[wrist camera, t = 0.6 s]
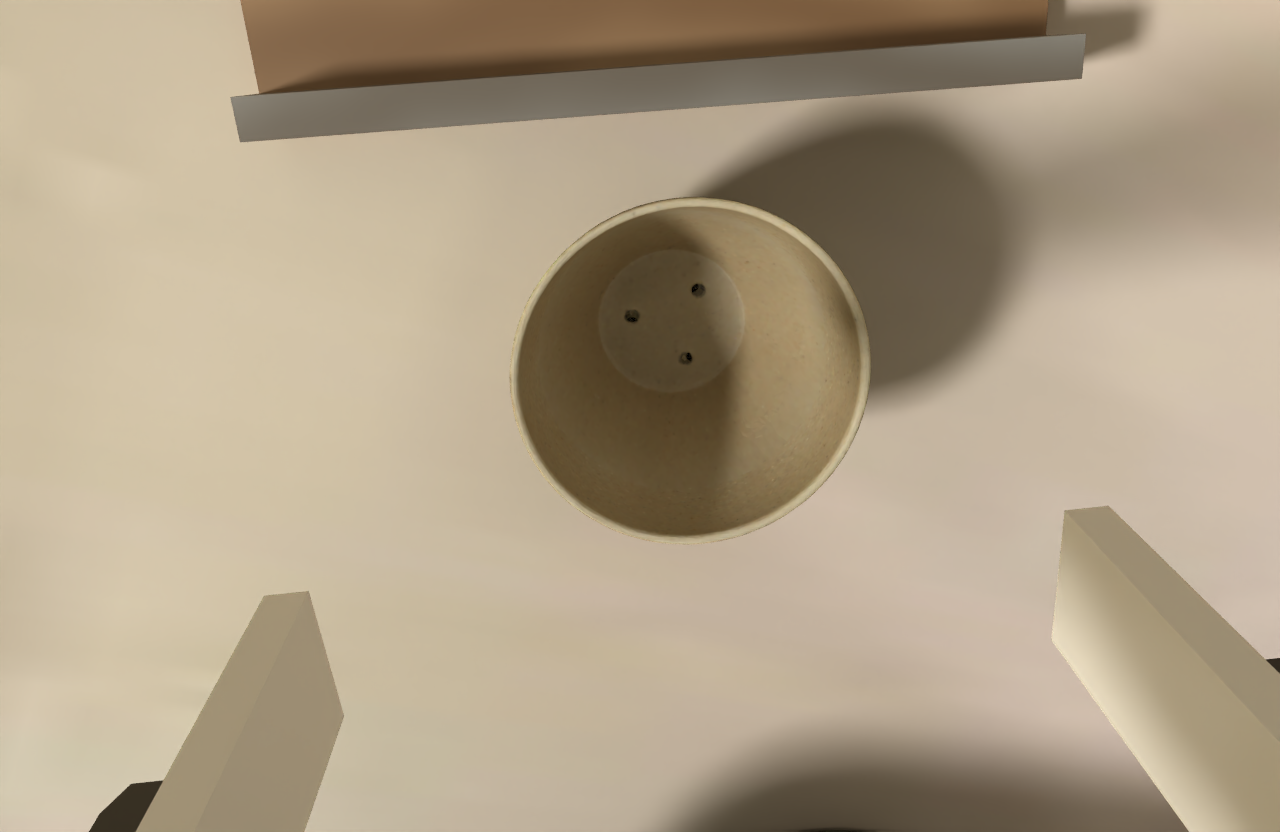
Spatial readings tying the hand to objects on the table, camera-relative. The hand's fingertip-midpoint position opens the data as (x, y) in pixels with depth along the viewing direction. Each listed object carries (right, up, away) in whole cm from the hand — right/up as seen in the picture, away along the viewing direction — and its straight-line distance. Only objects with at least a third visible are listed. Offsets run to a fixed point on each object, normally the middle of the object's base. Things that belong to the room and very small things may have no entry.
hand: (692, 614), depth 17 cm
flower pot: (0, +7, +16) cm, 18 cm away
